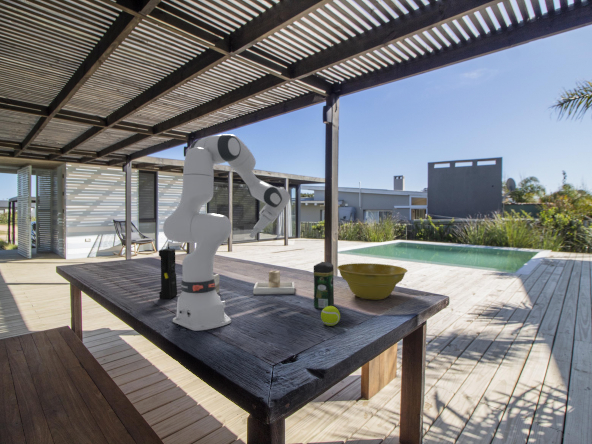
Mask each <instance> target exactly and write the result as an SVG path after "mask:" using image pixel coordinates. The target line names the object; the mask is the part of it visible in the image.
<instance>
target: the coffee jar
mask: <svg viewBox="0 0 592 444" xmlns="http://www.w3.org/2000/svg"><path fill="white" fill-rule="evenodd" d="M334 270H335V269H334V264H333V263H331V261H321V262H319V263H316V264H315V265H313V307H314V308H316V309H319V310H323V309H324V308H325V307H327V306H334V304H335V299H334V298H335V296H334V295H335V294H334V292H335V291H334V288H335V287H334V286H335V285H334V272H335V271H334Z"/></svg>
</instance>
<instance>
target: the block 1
mask: <svg viewBox="0 0 592 444" xmlns="http://www.w3.org/2000/svg"><path fill="white" fill-rule="evenodd" d="M213 278H214V280H215V286H216V289H215V290H216V292H217V294H218V293H220V273H213Z"/></svg>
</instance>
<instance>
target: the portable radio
mask: <svg viewBox="0 0 592 444" xmlns="http://www.w3.org/2000/svg"><path fill="white" fill-rule="evenodd" d="M158 256H159V257H160V291H159V293H158V294H159V295H158V296H159V299H161V300H171V299H173V298H175V297H176V296H177V295H178V289H177V288H178V287H177V285H178V284H177V273H176V249H175V248H170V244H169V243H167V248H163V249H159V250H158Z"/></svg>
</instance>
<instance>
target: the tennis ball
mask: <svg viewBox="0 0 592 444" xmlns="http://www.w3.org/2000/svg"><path fill="white" fill-rule="evenodd" d="M320 319H321V321H322V323H323V324H324V325H325V326H329V327H334V326H336V325H337V324H339V322H340V319H341V313H340V311H339V309H338V308H337V307H335V306H334V305H333V306H327V307H325V308H324V309H321V312H320Z"/></svg>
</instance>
